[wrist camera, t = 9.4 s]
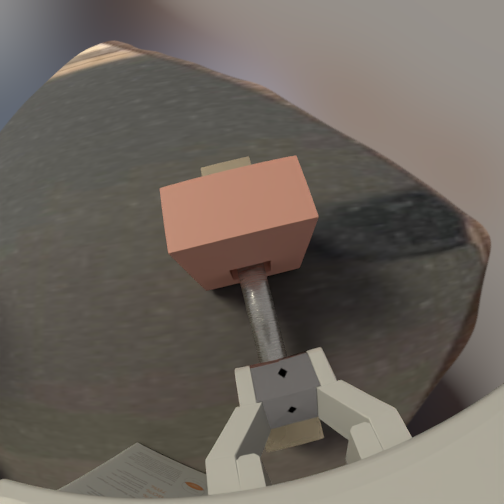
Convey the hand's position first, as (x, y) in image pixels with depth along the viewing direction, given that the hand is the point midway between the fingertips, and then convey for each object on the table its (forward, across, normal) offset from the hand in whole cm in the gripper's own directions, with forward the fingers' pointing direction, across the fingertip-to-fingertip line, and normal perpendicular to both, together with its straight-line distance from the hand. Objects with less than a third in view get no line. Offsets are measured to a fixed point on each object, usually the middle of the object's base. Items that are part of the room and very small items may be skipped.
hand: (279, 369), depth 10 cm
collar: (+17, 0, +4) cm, 17 cm away
